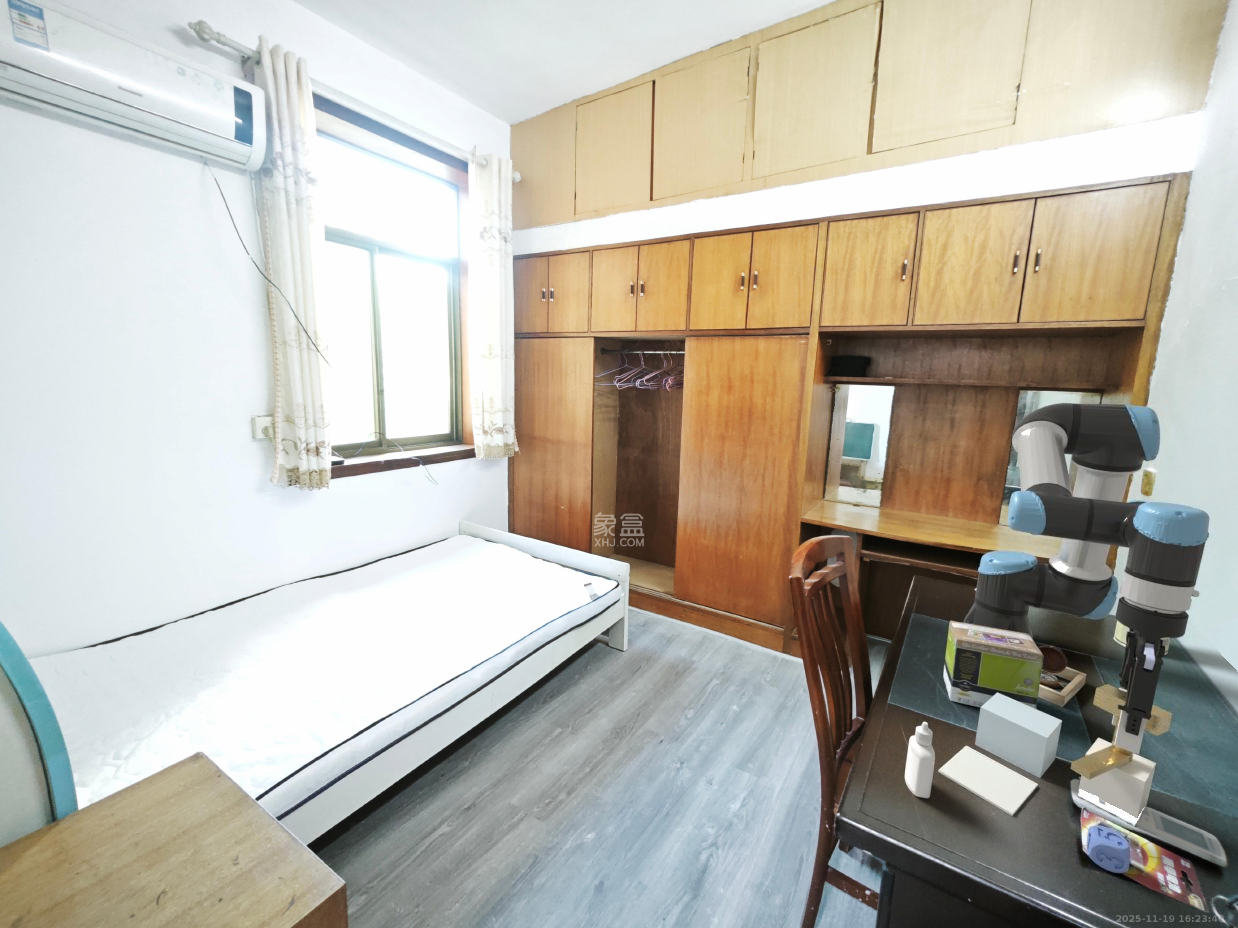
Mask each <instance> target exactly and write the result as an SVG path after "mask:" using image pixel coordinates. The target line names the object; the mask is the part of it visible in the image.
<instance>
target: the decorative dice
mask: <svg viewBox="0 0 1238 928" xmlns="http://www.w3.org/2000/svg"><path fill="white" fill-rule="evenodd" d="M1130 845H1131V844H1130V843H1129V841H1128V840H1127V839H1126V838H1125V837H1124V836H1123V835H1121V833H1119V832H1117V831H1115V830H1114V829H1112V828H1110V827H1107V826H1104V825H1099V824H1096V825H1091V826H1089V828H1088V831H1087V836H1086V854H1087V856H1088V857H1089V859H1091V860H1092V862H1094V863H1095V864H1096V865H1097V866H1099V867H1100V868H1102V869H1104V870H1106V871H1108V872H1111V873H1114V874H1115V873H1116V874H1123V873H1127V872H1128V871H1129V868H1130V864H1131V862H1130V861H1131V846H1130Z"/></svg>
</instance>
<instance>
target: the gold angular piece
mask: <svg viewBox="0 0 1238 928" xmlns="http://www.w3.org/2000/svg"><path fill="white" fill-rule="evenodd" d="M1126 694H1127V693H1126V692H1124V691H1122V690H1120V689H1119V688H1117V687H1115V686H1114V685H1111V684H1108V683H1107V684H1104V685H1101V686H1099V687H1098V686H1097V687H1096V688H1095V693H1094V698H1093V703H1092V705H1094V706H1096V707H1098V708H1100V709H1101V710H1104V711H1106V712H1107V713H1110V714H1111V715H1116V716H1117V721H1116V726H1115V727H1114V731H1113V736H1112V740H1111V743H1112V745H1111V746H1109V747H1107V748H1104V749H1102V750H1099V751H1097V752H1095V753H1092V754H1090V755H1087V756H1085V755H1084V756H1083V757H1080V758H1078V759H1076V760H1073V761H1071V765H1070V770H1072V771H1074V772H1075V773H1077V774H1078V775H1082V776H1084V777H1085V778H1087V779H1088V780H1090V779H1092V778H1094V777H1097V776H1099V775H1101V774H1103V773H1106V772H1108V771H1110V770H1112V769H1115V768H1117V767H1119V766H1121V765H1124V764H1126V763H1128V762H1132V759H1133V755H1134V754H1135V753H1134V752H1131V751H1128V750H1125V749H1122V748H1119V747H1117V746H1115V739H1116V734H1117V729H1118V724H1119V720H1120V715H1121V710H1120V709H1118V704H1119V705H1122V706H1124V705H1125V701H1126ZM1172 716H1173V713H1172V712H1170V711H1168V710H1166V709H1163V708H1161V707H1159V706H1157V705H1154V704H1153V706H1152V711H1151V718H1150V720H1146V725H1145V729H1144V731H1146V732H1148V733H1150V734H1152V735H1154V736H1156V737H1158V736H1160V735H1163V734H1165V733H1167V732H1169V730H1170V727H1171V726H1170V725H1171V721H1172Z"/></svg>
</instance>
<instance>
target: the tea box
mask: <svg viewBox="0 0 1238 928" xmlns="http://www.w3.org/2000/svg"><path fill="white" fill-rule="evenodd" d="M948 624H949V625H948V633H947V641H946V642H947V643H946V649H945V657H944V665H943V680H944V683H945V687H946V690H947V691H946V692H947V694H948V698H949V700H950V701H951V702H955V703H958V704H959V703H960V704H963V705H966V706H967V705H969V706H973V707H977V708H981V706H983V705H984V704H985V703H986V702H987V701H988V700H989V699H990V698H992V697H993V696H994V695H995V694H996V693H1000V694H1002V695H1004V696H1007V697H1009V698H1011V699H1014V700H1016V701H1018V702H1020V703H1023V704H1025V705H1027V706H1030V707H1032V708H1034V709H1037V706H1038V699H1039V697H1038V693H1039V686H1040V679H1041V672H1042V665H1043V656H1044V655H1043V654H1042V653H1041V651H1040V650H1039V648H1038V647H1039V646H1037V644H1036V642H1035V641H1034V639H1033V640H1032V638H1031V637H1030V634H1026V633H1020V632H1014V631H1008V630H1002V629H996V628H991V627H985V626H979V625H973V624H967V623H964V622H959V621H955V620H949V623H948Z"/></svg>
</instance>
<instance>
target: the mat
mask: <svg viewBox="0 0 1238 928" xmlns="http://www.w3.org/2000/svg"><path fill="white" fill-rule="evenodd" d="M937 772H938V773H940V775H943V776H944V777H946V778H947V779H949V780H951V781H953V782H954V783H956V784H957V785H959V786H961V787H963V788H965V789H966V790H967V791H969V792H971V793H973V794H974V795H976V796H978V797H979V798H981V799H982V800H984V801H986V802H988V803H989V804H991V805H993V806H994V807H996V808H998V809H999V810H1001V811H1002V812H1005V813H1006V814H1008V815H1010V816H1011V817H1013V816H1014V815H1015V814H1016V812H1017V811H1018V810H1019V809H1020V808H1021V806H1022V805H1024V803H1025V802H1026V800H1027V799H1028V798H1029V797H1030V796H1031V795H1032V794H1033V792H1034V791H1035V790H1036V788H1037V787H1038V786H1039V784H1038V783H1036V782H1035V781H1033V780H1032V779H1029V778H1027V777H1025V776H1023V775H1022V774H1020V773H1018V772H1017V771H1015V770H1013V769H1010V768H1009V767H1007V766H1005V765H1003V764H1002V763H999V762H997V761H996V760H994V759H992V758H990V757H988V756H987V755H985V754H982V753H981V752H979V751H977V750H975V749H973V748H972V747H970V746H968V745H964V747H963V748H962V749H960V751H958V752H957V753H956V754H954V756H952V758H951V759H949V760H948V761H947V762H946V763H945V764H943V766H941V767H940V768H939V769H938V770H937Z"/></svg>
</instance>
